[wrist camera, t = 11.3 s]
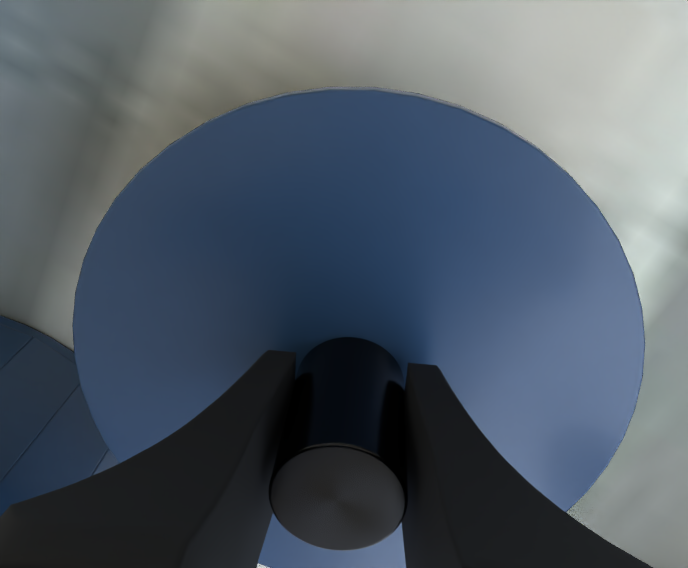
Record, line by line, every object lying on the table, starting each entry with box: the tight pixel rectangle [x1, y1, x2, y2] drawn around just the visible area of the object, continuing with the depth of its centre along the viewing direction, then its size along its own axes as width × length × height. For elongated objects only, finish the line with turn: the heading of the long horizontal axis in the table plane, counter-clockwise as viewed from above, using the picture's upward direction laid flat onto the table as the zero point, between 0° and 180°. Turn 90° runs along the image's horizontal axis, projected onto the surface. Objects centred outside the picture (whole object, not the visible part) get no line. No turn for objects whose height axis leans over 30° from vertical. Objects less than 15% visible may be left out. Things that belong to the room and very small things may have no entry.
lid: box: [73, 87, 645, 568], centre depth 13 cm, size 13×13×5 cm
